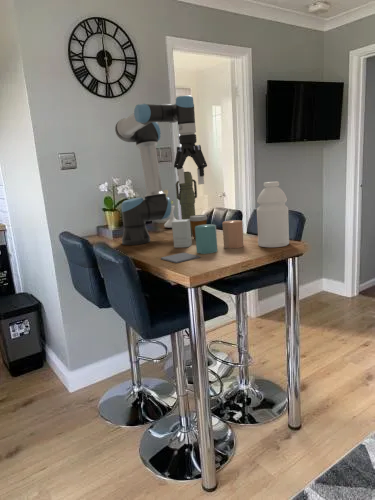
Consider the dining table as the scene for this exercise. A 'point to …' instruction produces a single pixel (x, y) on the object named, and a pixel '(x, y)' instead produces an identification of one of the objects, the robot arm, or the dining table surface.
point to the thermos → (187, 196)
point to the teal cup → (206, 238)
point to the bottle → (272, 217)
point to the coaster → (180, 257)
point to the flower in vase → (169, 222)
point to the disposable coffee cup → (197, 222)
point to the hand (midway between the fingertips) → (191, 183)
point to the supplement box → (181, 233)
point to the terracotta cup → (233, 234)
